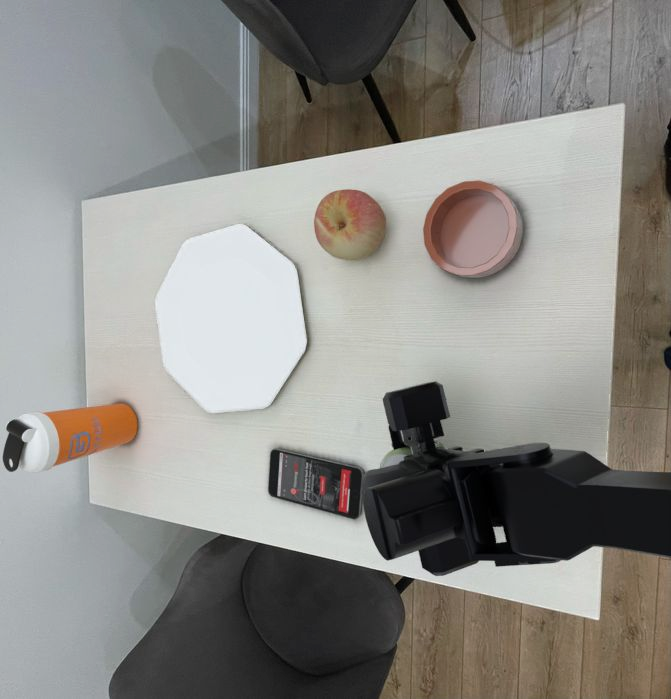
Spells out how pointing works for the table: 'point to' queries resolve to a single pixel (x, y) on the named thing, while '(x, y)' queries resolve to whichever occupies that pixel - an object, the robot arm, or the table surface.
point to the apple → (349, 224)
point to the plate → (231, 320)
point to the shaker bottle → (66, 435)
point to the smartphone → (316, 483)
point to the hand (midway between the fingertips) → (401, 468)
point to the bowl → (473, 229)
